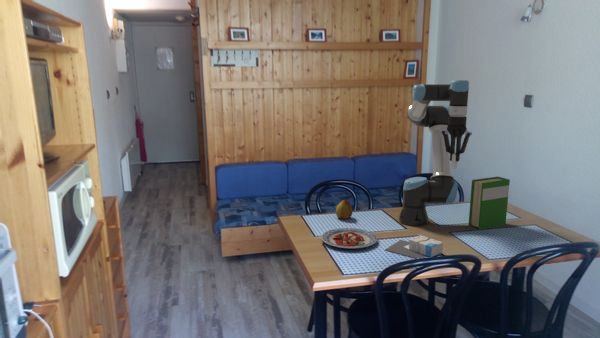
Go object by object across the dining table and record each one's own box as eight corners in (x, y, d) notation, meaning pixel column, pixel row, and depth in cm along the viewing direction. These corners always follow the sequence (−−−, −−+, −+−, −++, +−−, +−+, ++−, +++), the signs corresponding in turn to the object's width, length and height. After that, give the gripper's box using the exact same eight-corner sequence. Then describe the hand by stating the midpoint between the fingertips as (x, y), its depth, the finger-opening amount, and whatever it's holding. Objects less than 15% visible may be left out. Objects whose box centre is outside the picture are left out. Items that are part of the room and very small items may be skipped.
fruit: (336, 215, 243) (336, 194, 240) (352, 215, 241) (352, 194, 239) (335, 220, 234) (335, 198, 232) (352, 220, 233) (352, 199, 231)
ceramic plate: (312, 236, 211) (312, 230, 211) (358, 229, 221) (358, 223, 220) (337, 256, 188) (337, 249, 187) (388, 247, 198) (388, 240, 197)
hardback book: (479, 229, 218) (483, 183, 213) (468, 225, 225) (471, 179, 220) (505, 224, 225) (509, 179, 220) (493, 220, 232) (497, 176, 227)
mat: (384, 250, 193) (384, 249, 193) (400, 240, 205) (400, 239, 204) (425, 261, 181) (425, 260, 181) (440, 250, 193) (440, 249, 193)
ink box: (431, 246, 183) (403, 237, 194) (430, 257, 184) (402, 247, 195) (443, 241, 188) (415, 232, 199) (442, 252, 189) (414, 243, 200)
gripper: (439, 115, 194) (436, 167, 199) (469, 117, 186) (465, 171, 191) (446, 114, 199) (443, 165, 204) (475, 115, 191) (471, 168, 196)
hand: (454, 168), depth 197 cm, fingers closed
